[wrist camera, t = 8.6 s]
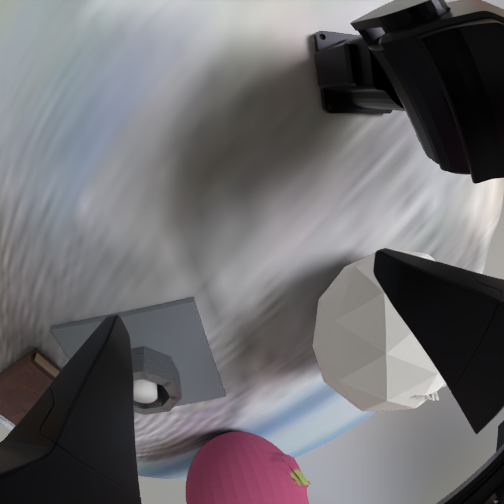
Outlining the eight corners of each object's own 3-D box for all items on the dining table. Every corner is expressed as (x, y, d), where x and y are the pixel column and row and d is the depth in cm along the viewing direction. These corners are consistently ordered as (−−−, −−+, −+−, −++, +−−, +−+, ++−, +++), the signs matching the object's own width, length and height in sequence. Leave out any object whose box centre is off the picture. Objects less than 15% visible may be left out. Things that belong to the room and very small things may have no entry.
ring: (164, 342, 23) (165, 367, 21) (185, 384, 26) (188, 407, 24) (99, 353, 22) (95, 378, 20) (127, 393, 25) (127, 416, 23)
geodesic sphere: (478, 233, 21) (533, 334, 9) (440, 342, 27) (443, 447, 16) (335, 212, 26) (296, 305, 15) (325, 325, 33) (288, 427, 21)
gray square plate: (193, 296, 23) (197, 325, 20) (224, 392, 29) (231, 417, 26) (51, 326, 20) (41, 353, 17) (114, 409, 27) (112, 434, 24)
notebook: (132, 419, 28) (132, 433, 26) (53, 440, 28) (52, 450, 27) (34, 346, 20) (28, 361, 18) (-21, 386, 21) (-25, 396, 19)
